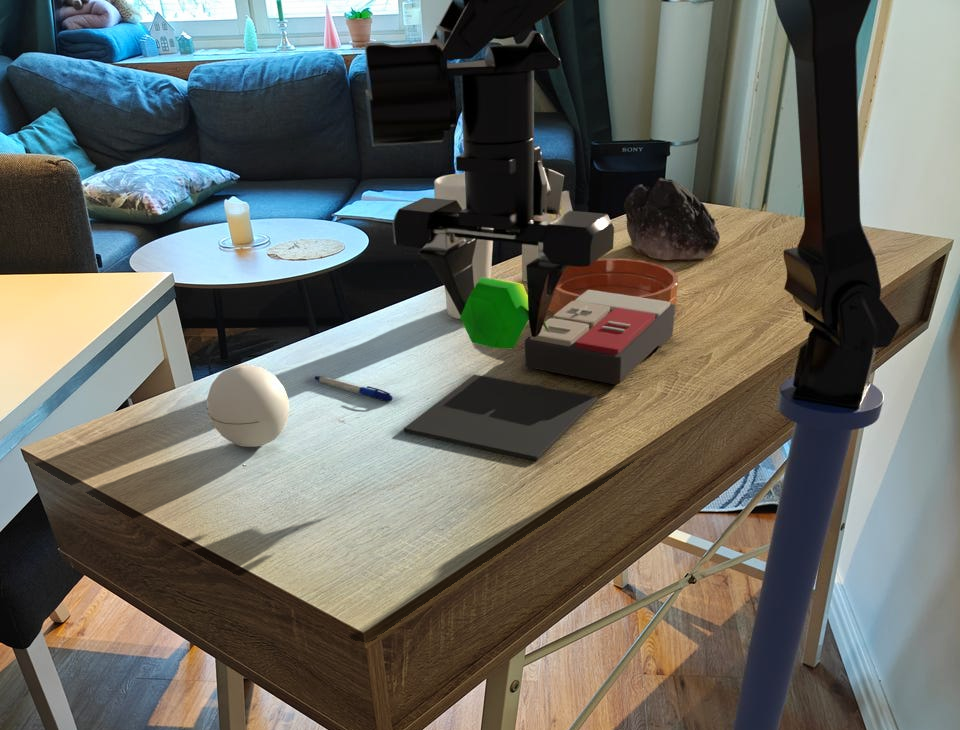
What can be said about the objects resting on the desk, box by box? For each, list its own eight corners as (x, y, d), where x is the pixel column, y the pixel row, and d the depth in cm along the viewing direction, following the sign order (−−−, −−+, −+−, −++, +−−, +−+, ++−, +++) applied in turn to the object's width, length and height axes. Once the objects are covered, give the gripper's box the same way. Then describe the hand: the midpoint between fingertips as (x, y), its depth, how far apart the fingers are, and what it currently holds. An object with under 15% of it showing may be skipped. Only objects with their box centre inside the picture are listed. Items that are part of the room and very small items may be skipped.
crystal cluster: (734, 248, 129) (741, 171, 124) (700, 265, 120) (706, 182, 115) (648, 245, 136) (651, 171, 130) (609, 260, 126) (611, 182, 121)
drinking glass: (433, 321, 108) (424, 185, 98) (451, 303, 113) (444, 171, 103) (487, 325, 106) (483, 187, 97) (502, 306, 111) (500, 173, 102)
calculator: (522, 333, 93) (586, 283, 102) (523, 372, 95) (585, 320, 105) (619, 350, 88) (677, 297, 97) (617, 391, 91) (673, 335, 100)
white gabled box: (522, 280, 119) (521, 198, 113) (554, 268, 123) (556, 188, 116) (543, 285, 117) (544, 203, 111) (575, 273, 121) (578, 192, 114)
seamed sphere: (266, 418, 88) (252, 345, 83) (310, 441, 84) (298, 365, 79) (175, 453, 83) (155, 377, 78) (218, 480, 78) (199, 401, 74)
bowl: (691, 295, 112) (695, 266, 110) (648, 337, 101) (651, 306, 99) (577, 281, 118) (578, 253, 116) (525, 318, 107) (525, 289, 105)
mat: (597, 400, 89) (597, 396, 88) (537, 461, 79) (537, 457, 79) (474, 378, 94) (473, 374, 94) (403, 432, 85) (403, 428, 84)
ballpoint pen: (395, 400, 91) (394, 390, 90) (390, 403, 90) (389, 393, 89) (317, 380, 95) (316, 371, 95) (312, 383, 95) (310, 374, 94)
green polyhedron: (474, 271, 75) (533, 243, 80) (433, 311, 79) (491, 282, 85) (522, 345, 76) (576, 312, 81) (478, 380, 81) (533, 346, 86)
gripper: (643, 125, 74) (630, 315, 83) (447, 115, 81) (457, 291, 91) (591, 151, 66) (583, 357, 76) (380, 138, 73) (398, 327, 83)
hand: (502, 330), depth 82 cm, fingers closed on green polyhedron, 6 cm apart
